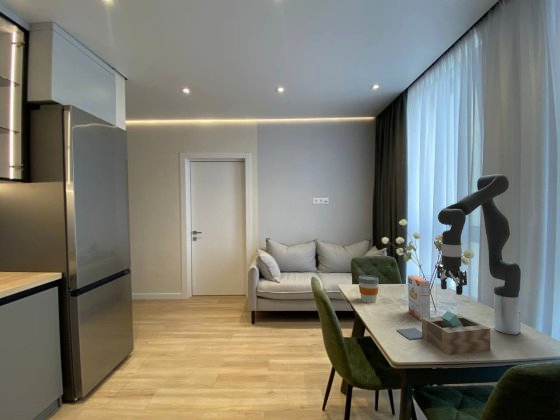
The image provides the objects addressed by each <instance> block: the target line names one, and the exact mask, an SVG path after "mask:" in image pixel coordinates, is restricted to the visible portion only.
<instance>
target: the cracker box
mask: <svg viewBox="0 0 560 420" xmlns="http://www.w3.org/2000/svg"><path fill="white" fill-rule="evenodd" d="M430 284H431V283H430V281H429V280H427V279H425V278H423V277H421V276H419V275H417V274H415V275H407V298H408V299H407V301H408V304H407V305H408V307H407V308H408V312H409V313H411V314H412V315H413V316H414V317H415V318H416V319H417V320H419V321H422V318H428V317H431V288H430V286H431V285H430Z"/></svg>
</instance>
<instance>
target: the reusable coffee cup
mask: <svg viewBox="0 0 560 420" xmlns="http://www.w3.org/2000/svg"><path fill="white" fill-rule="evenodd" d="M379 281H380V280H379V277H377V276H375V275H371V274H370V275H369V274H368V275H367V274H365V275H359V276H358V283H359V284H358V289H359V293H360V298H361V301H362V302H363V303H366V302H367V304H368V303H369V304H373V303H376V302H377V297H378V296H377V295H378V293H379V283H380V282H379Z"/></svg>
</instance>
